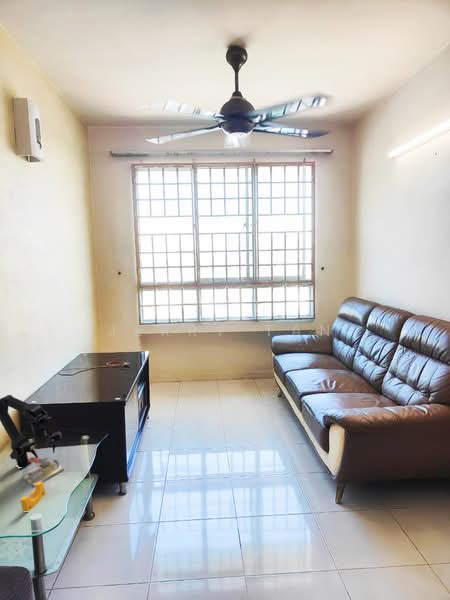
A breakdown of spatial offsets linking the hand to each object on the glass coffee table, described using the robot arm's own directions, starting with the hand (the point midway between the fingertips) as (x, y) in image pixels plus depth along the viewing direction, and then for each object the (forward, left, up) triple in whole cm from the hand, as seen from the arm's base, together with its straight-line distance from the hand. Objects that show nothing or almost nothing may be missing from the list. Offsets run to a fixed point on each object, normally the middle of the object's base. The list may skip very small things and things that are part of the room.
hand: (46, 456), depth 201 cm
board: (+5, -5, -6) cm, 9 cm away
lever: (+2, -5, -1) cm, 5 cm away
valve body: (+7, -5, -6) cm, 10 cm away
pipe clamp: (+25, -18, -6) cm, 32 cm away
